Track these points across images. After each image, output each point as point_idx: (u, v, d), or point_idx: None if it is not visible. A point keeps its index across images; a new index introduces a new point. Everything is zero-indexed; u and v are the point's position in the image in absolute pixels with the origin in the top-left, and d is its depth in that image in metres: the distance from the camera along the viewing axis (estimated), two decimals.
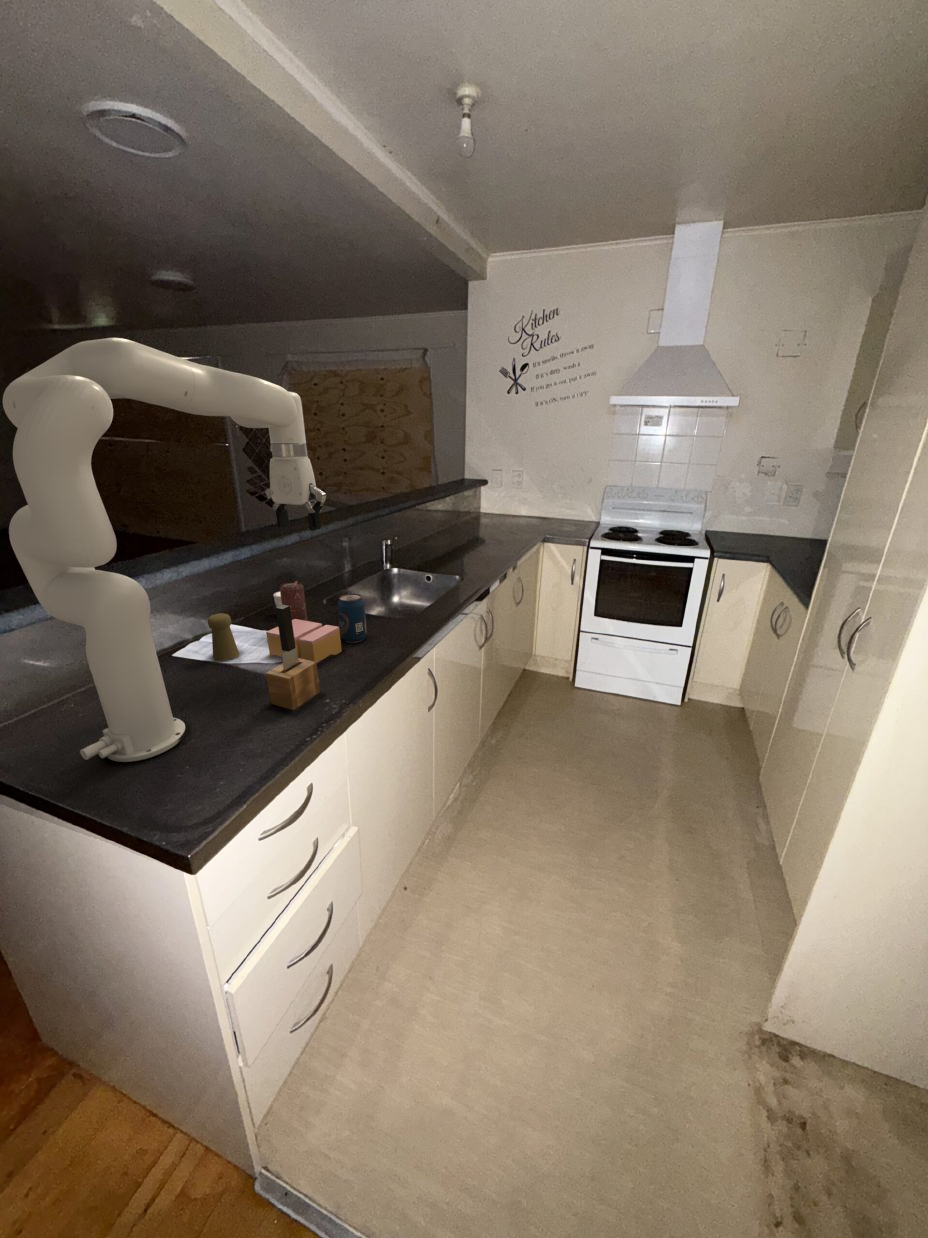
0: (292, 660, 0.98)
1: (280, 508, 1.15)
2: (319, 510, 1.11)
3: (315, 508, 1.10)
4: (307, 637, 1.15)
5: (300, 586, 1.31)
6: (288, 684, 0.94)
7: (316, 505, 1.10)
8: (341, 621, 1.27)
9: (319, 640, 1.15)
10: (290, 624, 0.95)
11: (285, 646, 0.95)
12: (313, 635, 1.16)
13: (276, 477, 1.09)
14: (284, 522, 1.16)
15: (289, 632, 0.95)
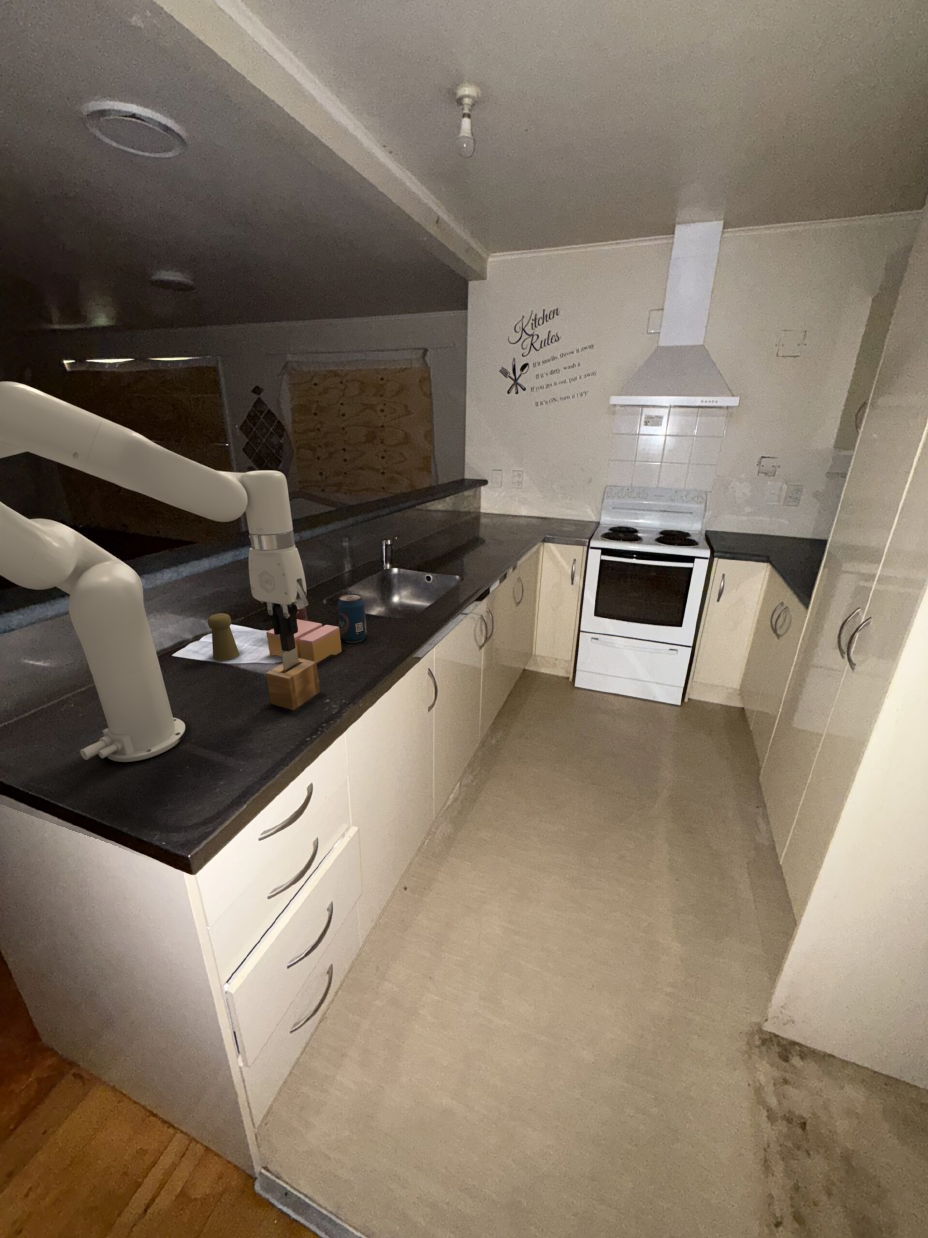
0: (292, 660, 0.98)
1: None
2: None
3: (290, 612, 0.92)
4: (307, 637, 1.15)
5: None
6: (288, 684, 0.94)
7: (291, 609, 0.91)
8: (341, 621, 1.27)
9: (319, 640, 1.15)
10: None
11: (285, 646, 0.95)
12: (313, 635, 1.16)
13: (256, 571, 0.89)
14: None
15: None
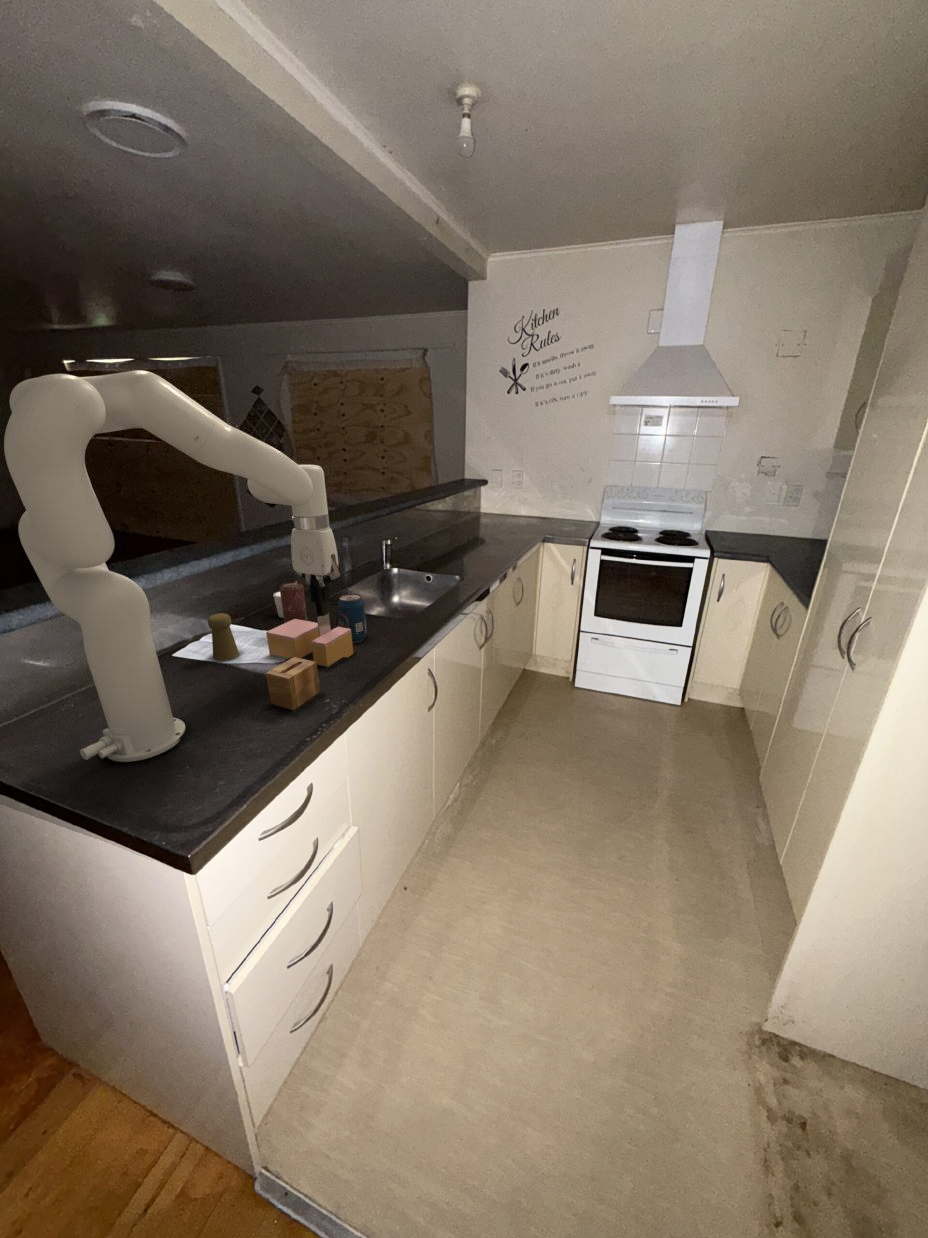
0: (325, 624, 1.17)
1: None
2: None
3: (325, 582, 1.11)
4: (319, 639, 1.14)
5: (300, 586, 1.31)
6: (288, 684, 0.94)
7: (326, 580, 1.10)
8: (341, 621, 1.27)
9: (332, 642, 1.14)
10: None
11: (320, 611, 1.15)
12: (325, 637, 1.15)
13: (298, 547, 1.08)
14: None
15: None
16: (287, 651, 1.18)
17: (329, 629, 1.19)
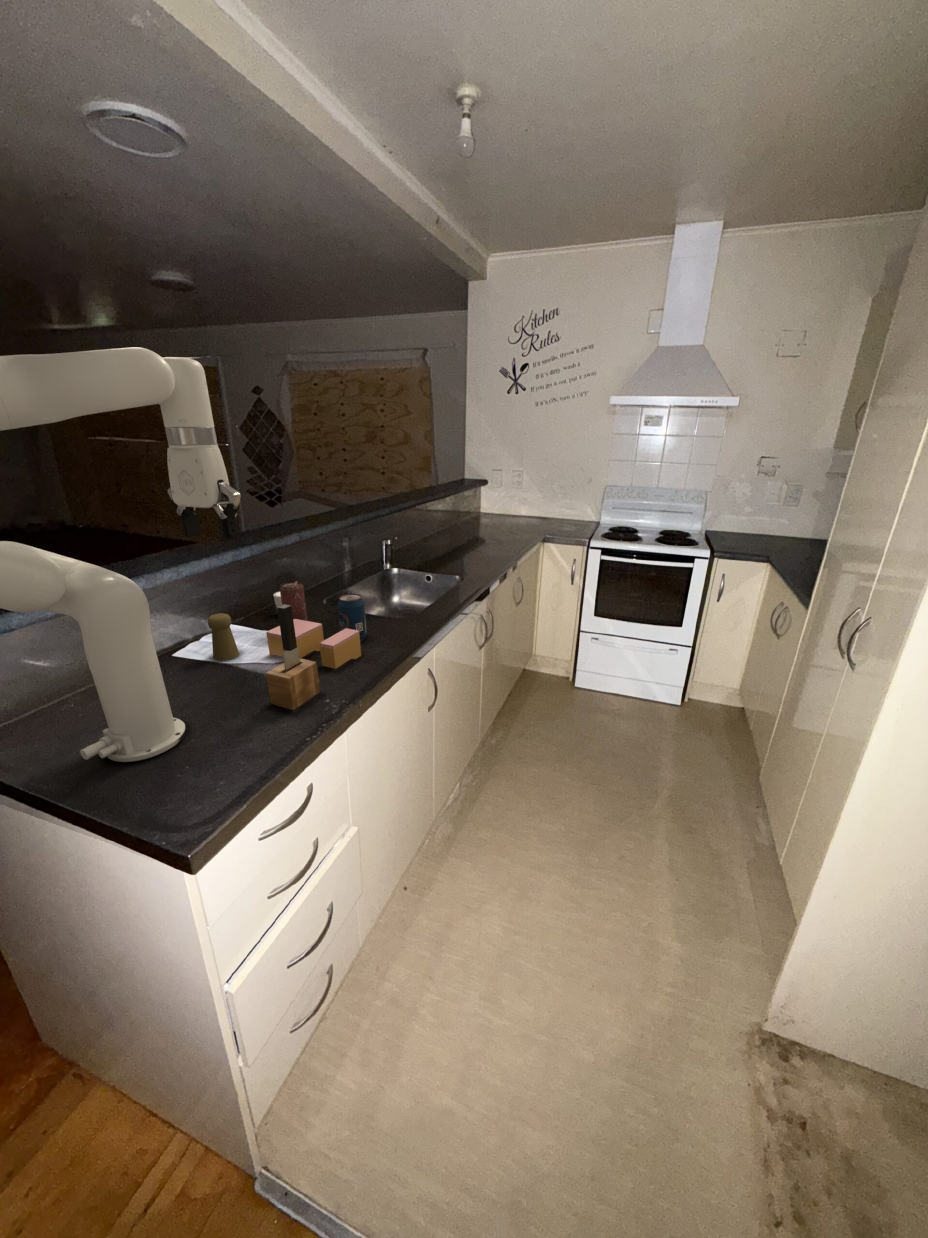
0: (293, 660, 0.98)
1: (187, 512, 0.89)
2: (233, 515, 0.86)
3: (227, 512, 0.85)
4: (327, 641, 1.13)
5: (300, 586, 1.31)
6: (288, 684, 0.94)
7: (228, 508, 0.84)
8: (341, 621, 1.27)
9: (340, 644, 1.13)
10: (291, 624, 0.95)
11: (286, 645, 0.96)
12: (333, 639, 1.14)
13: (175, 471, 0.84)
14: (193, 530, 0.91)
15: (290, 631, 0.95)
16: None
17: None
